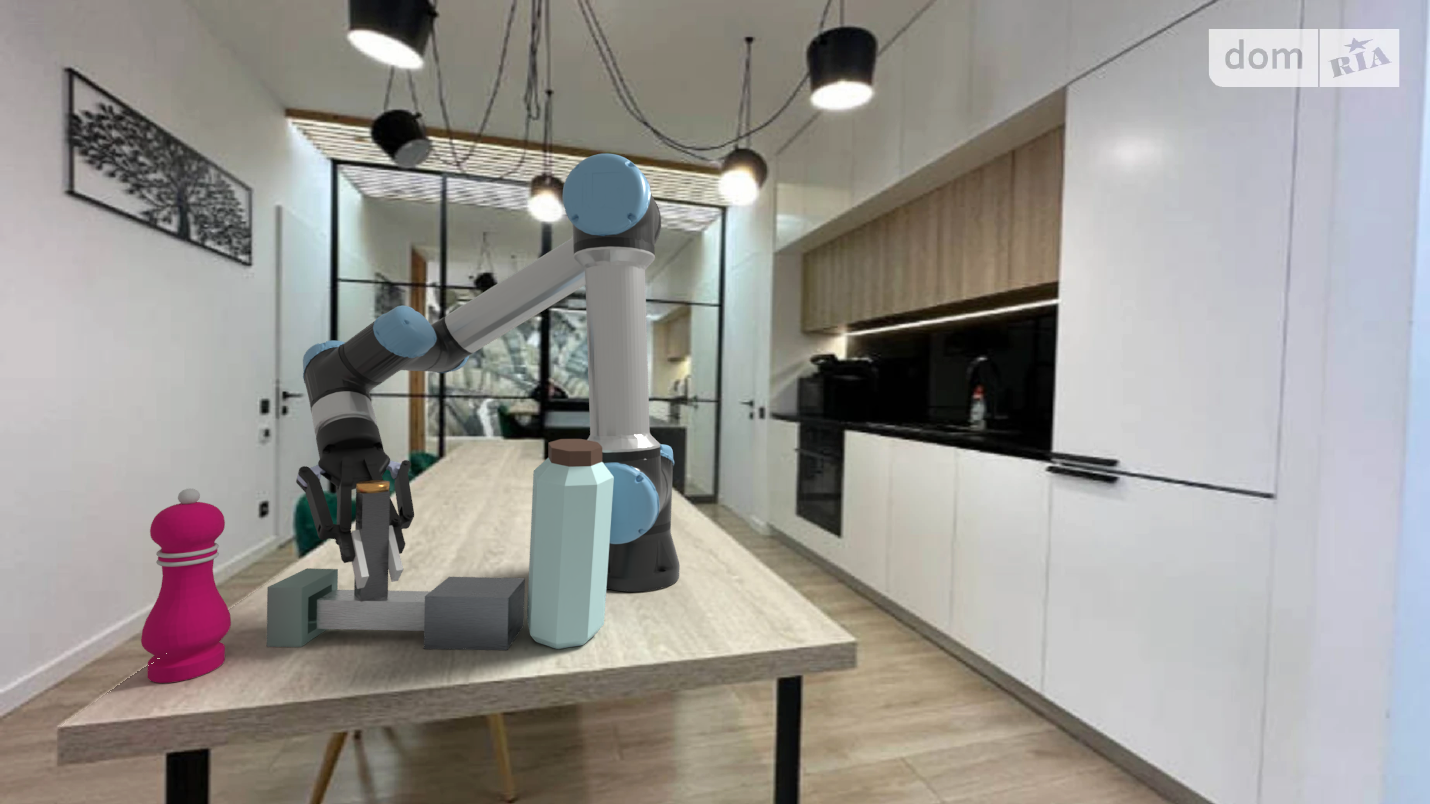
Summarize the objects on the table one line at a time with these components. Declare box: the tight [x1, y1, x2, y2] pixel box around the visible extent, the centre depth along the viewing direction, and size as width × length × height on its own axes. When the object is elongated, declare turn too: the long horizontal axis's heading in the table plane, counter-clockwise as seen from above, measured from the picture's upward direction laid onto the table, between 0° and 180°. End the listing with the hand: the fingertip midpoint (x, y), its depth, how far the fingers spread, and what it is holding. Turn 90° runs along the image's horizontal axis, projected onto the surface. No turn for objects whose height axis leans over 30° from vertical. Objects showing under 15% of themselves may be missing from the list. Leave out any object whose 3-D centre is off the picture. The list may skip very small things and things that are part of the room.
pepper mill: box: [140, 488, 232, 684], centre depth 62 cm, size 7×7×20 cm
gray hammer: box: [317, 479, 432, 632], centre depth 72 cm, size 18×4×18 cm, turn 93°
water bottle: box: [526, 438, 614, 650], centre depth 73 cm, size 10×10×25 cm
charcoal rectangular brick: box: [423, 576, 526, 651], centre depth 73 cm, size 10×7×6 cm
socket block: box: [266, 567, 339, 648], centre depth 72 cm, size 4×7×7 cm, turn 3°
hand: (380, 578), depth 69 cm, fingers closed on gray hammer, 3 cm apart
